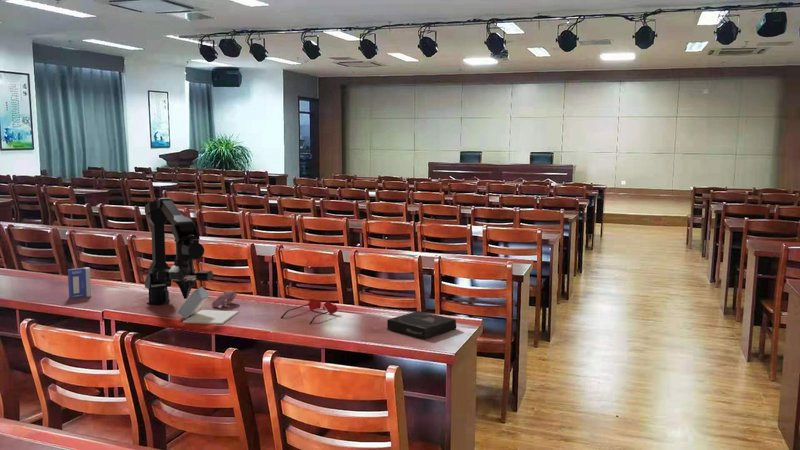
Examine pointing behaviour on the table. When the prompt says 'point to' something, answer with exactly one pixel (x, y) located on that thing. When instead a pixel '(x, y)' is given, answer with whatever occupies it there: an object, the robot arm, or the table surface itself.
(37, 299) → the table surface
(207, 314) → the mat
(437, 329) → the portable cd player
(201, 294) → the slab
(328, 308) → the glasses
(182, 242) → the robot arm
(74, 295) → the walkman
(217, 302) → the video game controller
